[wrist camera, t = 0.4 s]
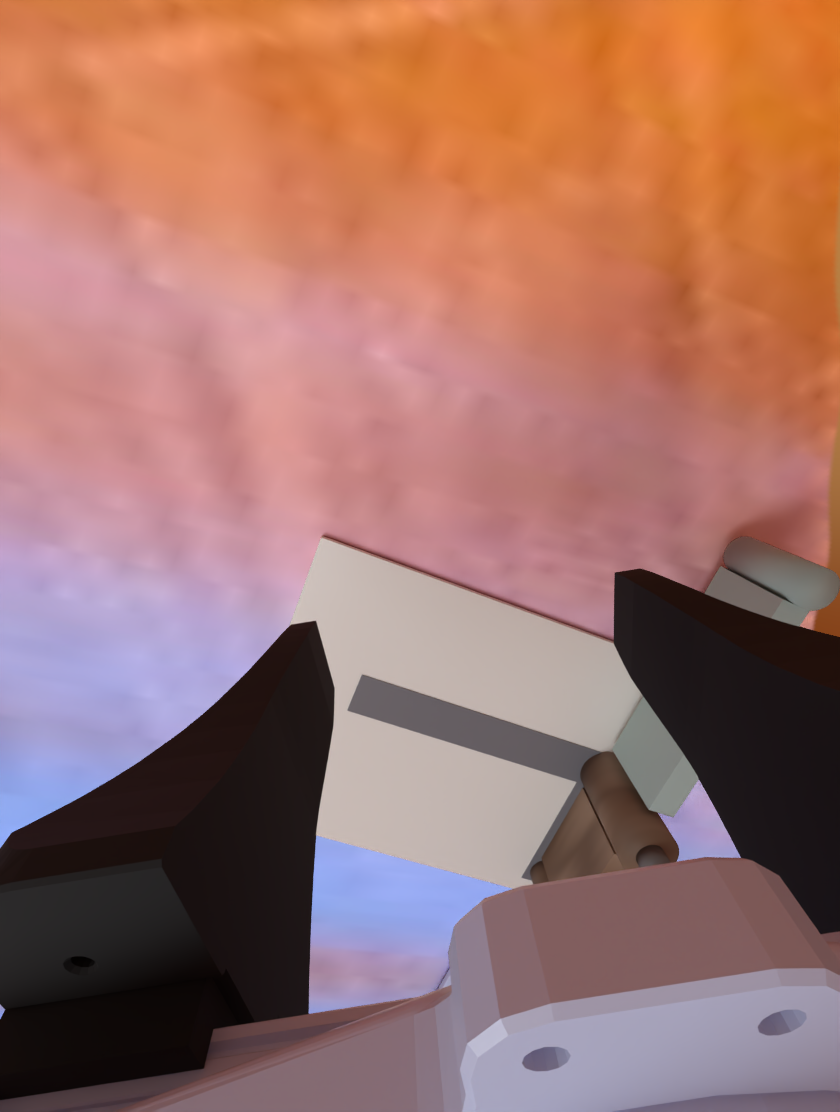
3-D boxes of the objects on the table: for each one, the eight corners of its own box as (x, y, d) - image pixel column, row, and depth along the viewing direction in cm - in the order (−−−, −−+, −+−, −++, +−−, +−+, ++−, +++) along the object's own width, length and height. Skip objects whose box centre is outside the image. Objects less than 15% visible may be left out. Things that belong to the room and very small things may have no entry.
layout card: (577, 901, 29) (579, 907, 29) (225, 805, 26) (223, 811, 26) (717, 679, 25) (722, 683, 25) (321, 535, 22) (321, 537, 22)
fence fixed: (557, 886, 28) (595, 1002, 23) (518, 875, 28) (547, 990, 23) (635, 759, 26) (698, 854, 21) (593, 745, 26) (645, 839, 20)
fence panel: (637, 757, 25) (682, 826, 21) (608, 748, 25) (649, 815, 21) (767, 544, 22) (848, 577, 18) (736, 531, 22) (811, 561, 18)
